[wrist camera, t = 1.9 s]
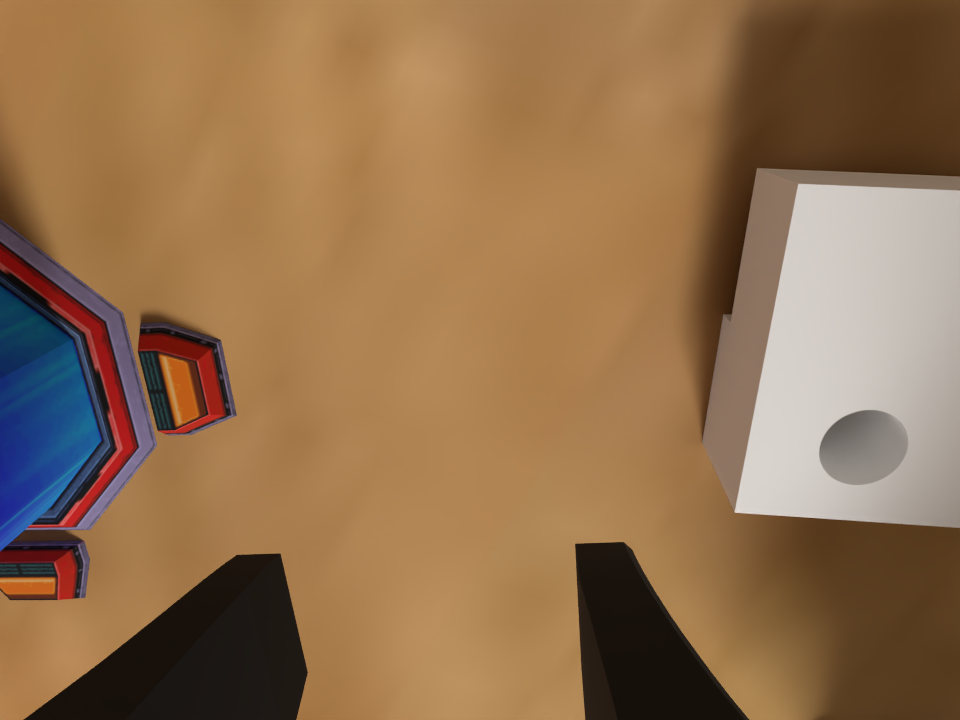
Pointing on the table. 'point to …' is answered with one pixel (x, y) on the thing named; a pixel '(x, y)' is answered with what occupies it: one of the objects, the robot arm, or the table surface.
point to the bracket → (843, 351)
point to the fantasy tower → (82, 411)
